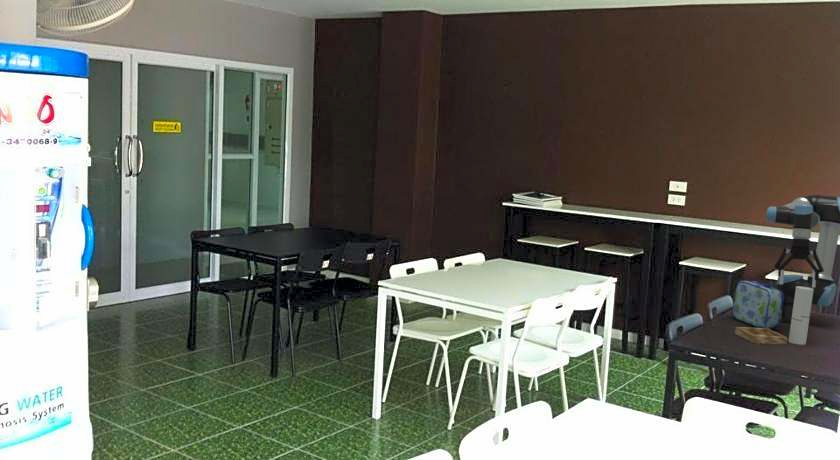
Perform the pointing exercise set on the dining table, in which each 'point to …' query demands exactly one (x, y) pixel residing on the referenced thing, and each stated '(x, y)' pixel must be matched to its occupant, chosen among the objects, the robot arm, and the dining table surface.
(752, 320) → the lunch box
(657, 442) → the dining table surface
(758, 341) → the oak tray
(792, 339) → the tall white box
